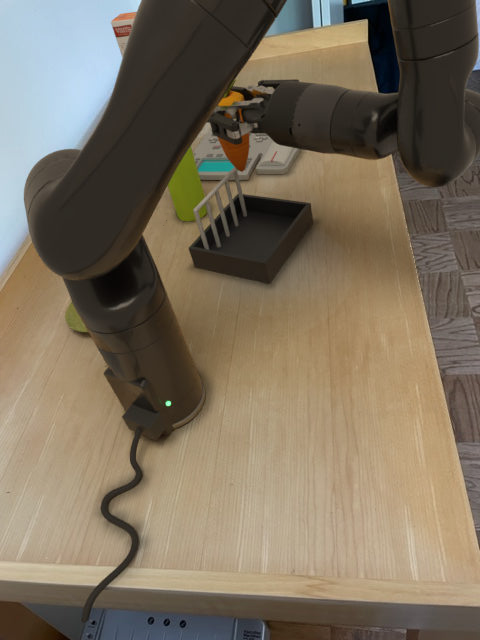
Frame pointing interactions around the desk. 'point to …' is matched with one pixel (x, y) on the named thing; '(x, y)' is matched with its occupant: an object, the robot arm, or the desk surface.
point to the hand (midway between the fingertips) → (213, 102)
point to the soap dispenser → (187, 188)
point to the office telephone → (260, 146)
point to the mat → (74, 319)
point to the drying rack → (249, 233)
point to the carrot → (241, 151)
